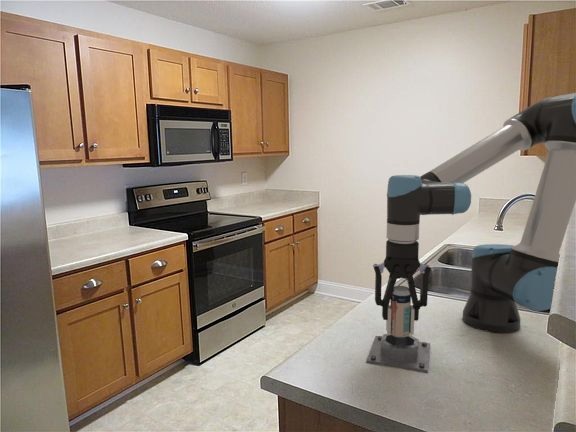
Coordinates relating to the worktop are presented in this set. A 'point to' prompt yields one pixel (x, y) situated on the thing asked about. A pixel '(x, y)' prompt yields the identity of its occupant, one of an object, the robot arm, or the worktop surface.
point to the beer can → (400, 311)
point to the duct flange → (400, 352)
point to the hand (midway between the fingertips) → (399, 331)
